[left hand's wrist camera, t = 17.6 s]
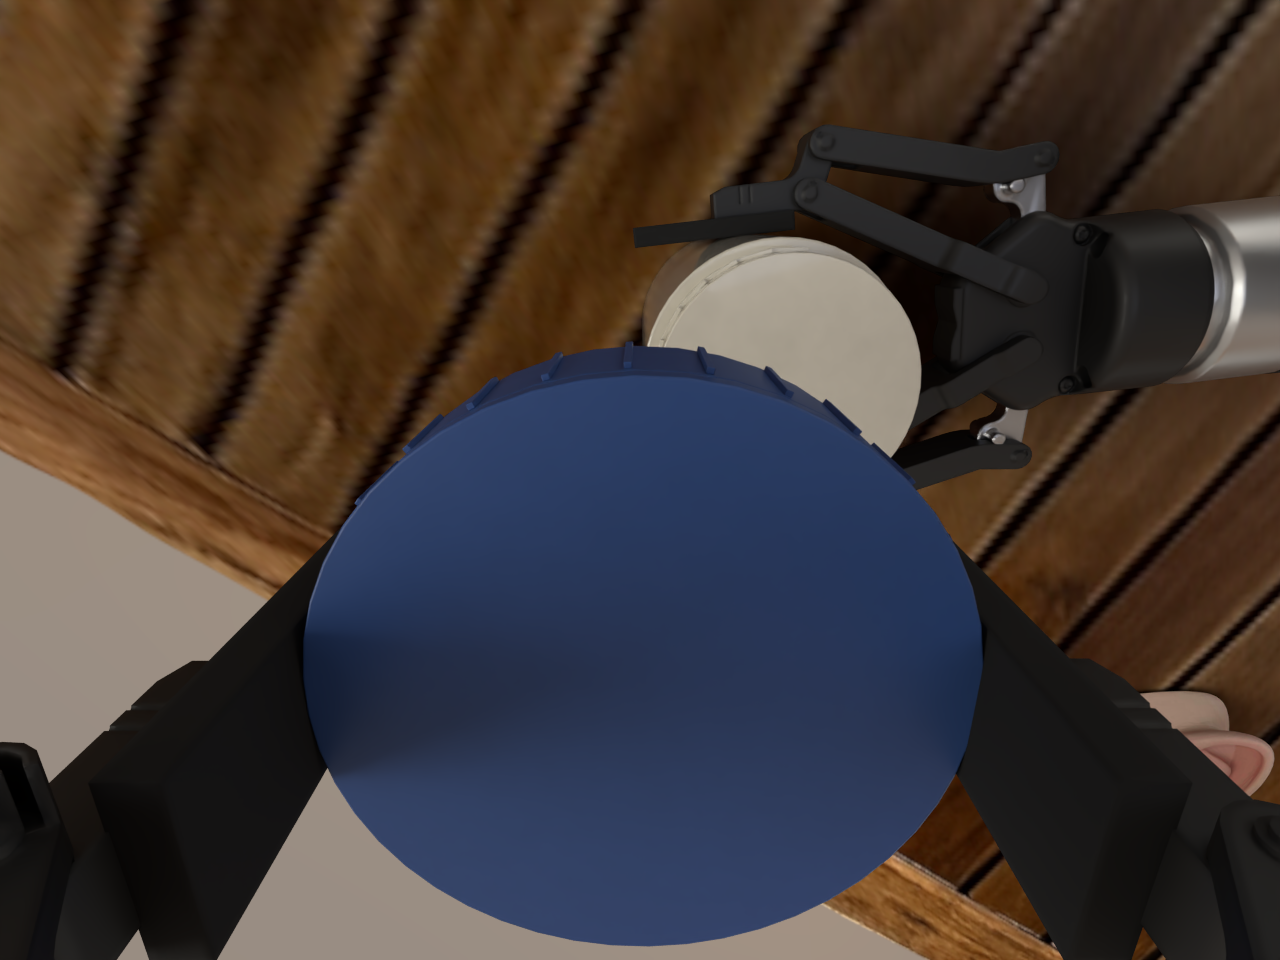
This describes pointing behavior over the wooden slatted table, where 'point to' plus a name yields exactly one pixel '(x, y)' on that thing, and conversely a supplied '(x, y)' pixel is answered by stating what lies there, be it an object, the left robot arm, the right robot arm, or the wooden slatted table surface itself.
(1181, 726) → the anatomical model
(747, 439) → the lid
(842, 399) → the jar
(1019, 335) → the right robot arm
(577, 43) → the wooden slatted table surface
